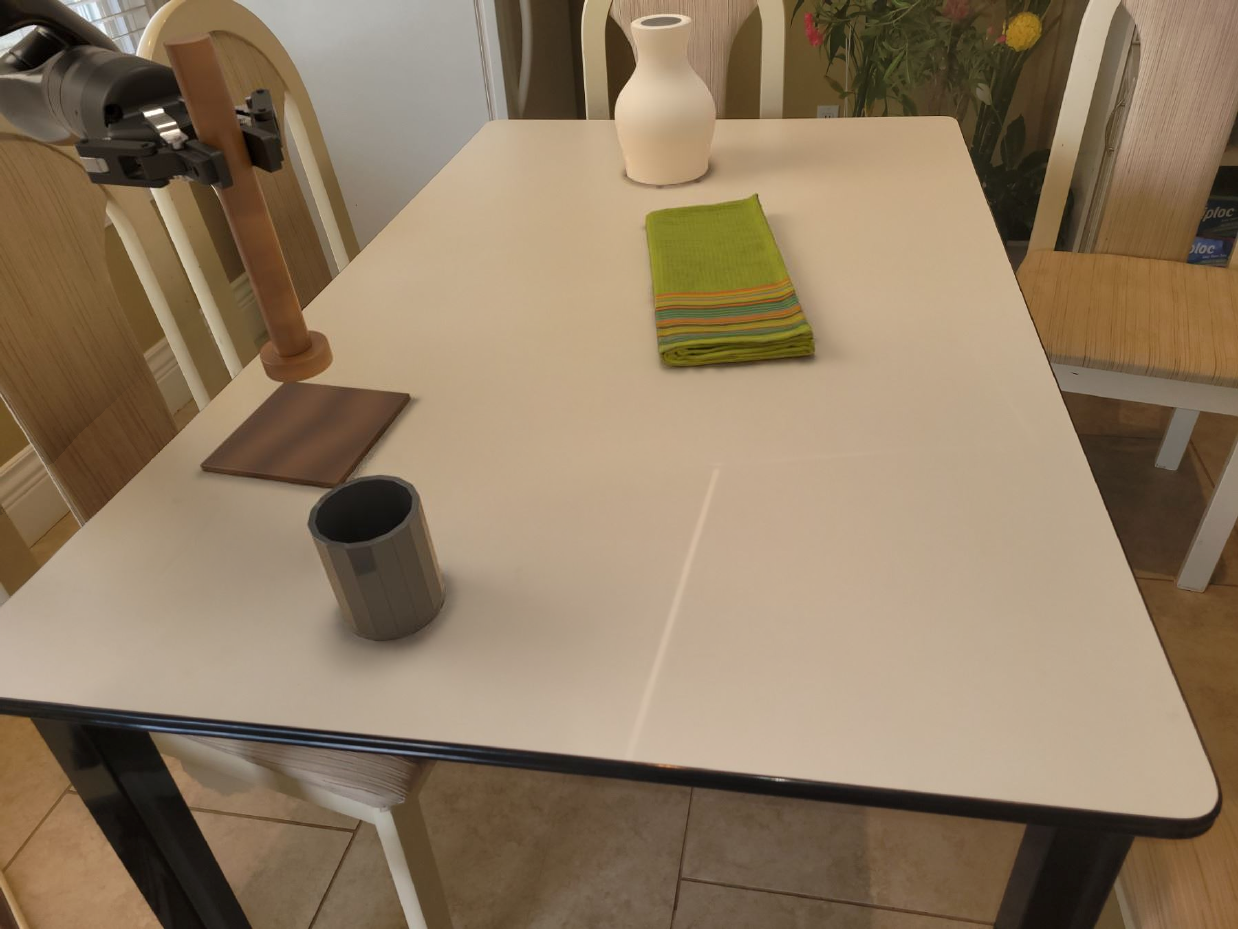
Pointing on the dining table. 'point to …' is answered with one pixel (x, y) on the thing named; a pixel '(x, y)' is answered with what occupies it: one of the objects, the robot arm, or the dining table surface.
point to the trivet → (308, 434)
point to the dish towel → (722, 286)
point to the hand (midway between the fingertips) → (248, 162)
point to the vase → (664, 106)
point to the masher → (247, 213)
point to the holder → (378, 556)
